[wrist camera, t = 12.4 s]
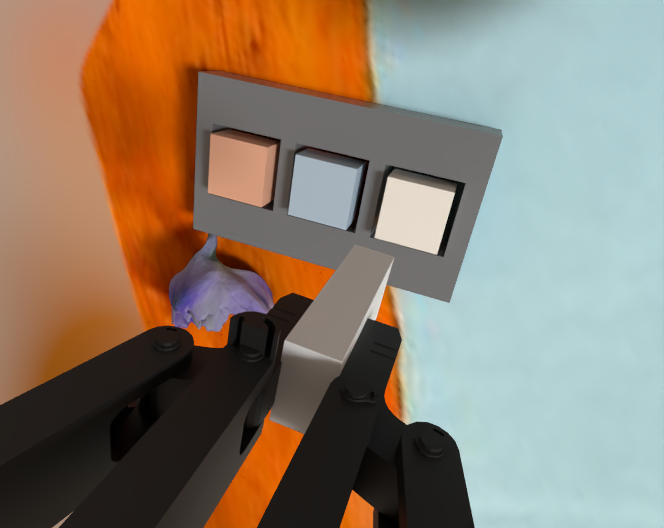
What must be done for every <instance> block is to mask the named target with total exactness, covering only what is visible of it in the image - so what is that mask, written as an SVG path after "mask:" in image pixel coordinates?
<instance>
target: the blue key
mask: <svg viewBox="0 0 664 528" xmlns="http://www.w3.org/2000/svg"><path fill="white" fill-rule="evenodd" d="M365 166H366V162H365V161H361V160H357V159H352V158H348V157H344V156H340V155H336V154H331V153H327V152H323V151H319V150H315V149H310V148H308V149H306V150H304V151H302V152H300V153H298V154H296V156H295V164H294V172H293V179H292V187H291V195H290V203H289V210H288V215H291V216H295V217H299V218H303V219H306V220H310V221H314V222H317V223H321V224H325V225H329V226H332V227H336V228H340V229H343V230H346V229H347V228H348V227H349V226H350V225H351V223H352V222H353V221H354V220H355V217H356V212H357V207H358V202H359V197H360V192H361V186H362V181H363V176H364V171H365Z"/></svg>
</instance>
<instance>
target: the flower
mask: <svg viewBox="0 0 664 528" xmlns="http://www.w3.org/2000/svg"><path fill="white" fill-rule="evenodd" d="M216 247H217V235H213V234H210V233H209V234H208V238H207V241H206V244H205V245H204V246H203V248H202V249H201V250H199V251H198V252H197V253H196V254H195V255H194V256H193V258H192V259H191V260H190V261H189V263H188V264H187V266H186V267H185V268H184V269H183V270H182V271H181V272H179V273H177V274H176V275H175V276H174V277H173V278H172V280H171V282H170V285H169V299H170V302H171V305H172V324H173V323H174V325H175V327H179V328H180V327H183V328H187V327H188V325H189V323H190V322H193V323H194V324H195V325H196V326H197V327H198V329H200V328H201V326H204V327H206V330H207V331H215V332H218V331H220V330H221V328H222V326H223V323H226V321H227V319H228V316H229V314H233V315H236V314H238V313H242V312H246V311H256V312H260V313H265V314H267V313H268V312H269V310H270V309H271V308H273V306H274V303H273V298H272V292H271V290H270V288H269V287H268V285H267V284H266V282H265V281H264V280H263V279H262V277H261V276H259V275H258V274H256V273H255V272H252V271H249V270H241V269H233V268H230V267H227V266H225V265H223V264H222V263H221V262H220V261H219V260H218V258H217V257H216Z"/></svg>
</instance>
